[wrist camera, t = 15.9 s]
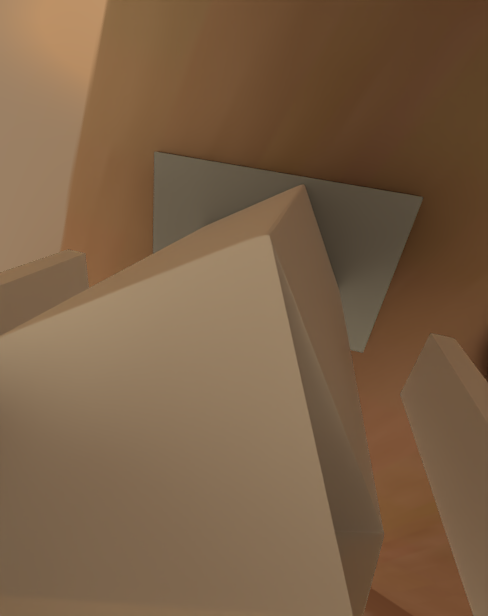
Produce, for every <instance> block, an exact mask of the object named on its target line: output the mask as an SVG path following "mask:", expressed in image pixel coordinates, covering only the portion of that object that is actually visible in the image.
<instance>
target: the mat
mask: <svg viewBox="0 0 488 616" xmlns="http://www.w3.org/2000/svg"><path fill="white" fill-rule="evenodd" d="M302 184H304V185H305V188H306V191H307V194H308V197H309V200H310V203H311V206H312V209H313V212H314V215H315V218H316V221H317V224H318V227H319V230H320V233H321V236H322V239H323V242H324V245H325V248H326V251H327V254H328V258H329V261H330V264H331V267H332V270H333V273H334V276H335V279H336V282H337V285H338V288H339V291H340V296H341V302H342V307H343V313H344V318H345V324H346V329H347V335H348V340H349V346H350V350H353V351H357V352H361V353H363V351H364V349H365V346H366V344H367V341H368V338H369V336H370V333H371V331H372V328H373V326H374V323H375V320H376V318H377V315H378V313H379V310H380V308H381V305H382V302H383V300H384V297H385V295H386V292H387V290H388V287H389V285H390V282H391V279H392V277H393V274H394V272H395V269H396V267H397V264H398V261H399V259H400V256H401V254H402V251H403V249H404V246H405V244H406V241H407V238H408V236H409V233H410V231H411V228H412V226H413V223H414V220H415V218H416V215H417V213H418V210H419V208H420V205H421V203H422V200H423V197H421V196H415V195H409V194H403V193H398V192H392V191H386V190H380V189H374V188H368V187H362V186H356V185H350V184H345V183H339V182H333V181H327V180H321V179H315V178H309V177H303V176H297V175H292V174H286V173H280V172H274V171H268V170H262V169H256V168H250V167H245V166H239V165H233V164H227V163H221V162H215V161H209V160H203V159H197V158H192V157H186V156H180V155H174V154H168V153H162V152H154V210H153V254H154V253H156V252H157V251H159V250H161V249H163V248H165V247H167V246H169V245H170V244H172V243H174V242H176V241H178V240H180V239H182V238H184V237H185V236H187V235H189V234H191V233H193V232H195V231H197V230H198V229H200V228H202V227H204V226H206V225H208V224H211V223H213V222H215V221H218V220H220V219H222V218H224V217H227V216H229V215H231V214H234V213H236V212H238V211H241V210H243V209H245V208H247V207H250V206H252V205H254V204H257V203H259V202H261V201H264V200H266V199H268V198H271V197H273V196H275V195H277V194H280V193H282V192H284V191H287V190H289V189H291V188H294V187H296V186H299V185H302Z"/></svg>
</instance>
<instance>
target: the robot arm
mask: <svg viewBox="0 0 488 616" xmlns="http://www.w3.org/2000/svg"><path fill="white" fill-rule="evenodd" d="M88 288H89V286H88V275H87V265H86V255H85V253H82V252H77V251H73V250H69V249H68V250H65V251H62V252H59V253H56V254H53V255H51V256H48V257H45V258H42V259H39V260H36V261H33V262H30V263H27V264H24V265H21V266H18V267H15V268H12V269H9V270H6V271H3V272H0V335H2V334H4V333H6V332H8V331H10V330H12V329H14V328H15V327H17V326H19V325H21V324H23V323H25V322H27V321H28V320H30V319H32V318H34V317H36V316H38V315H40V314H42V313H43V312H45V311H47V310H49V309H51V308H53V307H55V306H56V305H58V304H60V303H62V302H64V301H66V300H68V299H70V298H71V297H73V296H75V295H77V294H79V293H81V292H83V291H85V290H86V289H88ZM400 396H401V399H402V402H403V405H404V408H405V411H406V414H407V417H408V420H409V423H410V426H411V429H412V432H413V435H414V438H415V441H416V444H417V447H418V450H419V453H420V456H421V459H422V462H423V465H424V468H425V471H426V474H427V477H428V480H429V483H430V486H431V489H432V492H433V495H434V498H435V501H436V504H437V507H438V510H439V513H440V516H441V519H442V522H443V526H444V529H445V532H446V535H447V538H448V541H449V544H450V547H451V550H452V553H453V556H454V559H455V562H456V565H457V568H458V571H459V574H460V577H461V580H462V583H463V586H464V589H465V592H466V595H467V598H468V601H469V604H470V607H471V610H472V613H473V616H488V382H487V381H486V380H485V378H484V377H483V376H482V374H481V373H480V372H479V370H478V369H477V368H476V366H475V365H474V364H473V362H472V361H471V360H470V358H469V357H468V355H467V354H466V353H465V351H464V350H463V349H462V347H461V346H460V345H459V343H458V342H457V341H456V339H455V338H451V337H447V336H442V335H438V334H434V333H430V335H429V337H428V339H427V341H426V343H425V345H424V347H423V349H422V351H421V353H420V355H419V357H418V359H417V361H416V363H415V365H414V367H413V369H412V371H411V373H410V375H409V377H408V379H407V381H406V383H405V385H404V387H403V389H402V391H401V393H400Z"/></svg>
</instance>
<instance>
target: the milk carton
mask: <svg viewBox="0 0 488 616" xmlns="http://www.w3.org/2000/svg"><path fill="white" fill-rule="evenodd" d="M383 538H384V531H383V526H382V521H381V515H380V510H379V504H378V499H377V494H376V488H375V483H374V477H373V472H372V466H371V461H370V455H369V450H368V444H367V439H366V433H365V428H364V422H363V417H362V411H361V406H360V400H359V395H358V390H357V384H356V379H355V373H354V368H353V362H352V357H351V351H350V346H349V340H348V335H347V329H346V324H345V318H344V313H343V307H342V302H341V296H340V291H339V288H338V285H337V282H336V279H335V276H334V273H333V270H332V267H331V264H330V261H329V258H328V254H327V251H326V248H325V245H324V242H323V239H322V236H321V233H320V230H319V227H318V224H317V221H316V218H315V215H314V212H313V209H312V206H311V203H310V200H309V197H308V194H307V191H306V188H305V185H304V184H302V185H299V186H296V187H294V188H291V189H289V190H287V191H284V192H282V193H280V194H277V195H275V196H273V197H271V198H268V199H266V200H264V201H261V202H259V203H257V204H254V205H252V206H250V207H247V208H245V209H243V210H241V211H238V212H236V213H234V214H231V215H229V216H227V217H224V218H222V219H220V220H218V221H215V222H213V223H211V224H208V225H206V226H204V227H202V228H200V229H198V230H197V231H195V232H193V233H191V234H189V235H187V236H185V237H184V238H182V239H180V240H178V241H176V242H174V243H172V244H170V245H169V246H167V247H165V248H163V249H161V250H159V251H157V252H156V253H154V254H152V255H150V256H148V257H146V258H144V259H142V260H141V261H139V262H137V263H135V264H133V265H131V266H129V267H127V268H126V269H124V270H122V271H120V272H118V273H116V274H114V275H113V276H111V277H109V278H107V279H105V280H103V281H101V282H99V283H98V284H96V285H94V286H92V287H90V288H88V289H86V290H85V291H83V292H81V293H79V294H77V295H75V296H73V297H71V298H70V299H68V300H66V301H64V302H62V303H60V304H58V305H56V306H55V307H53V308H51V309H49V310H47V311H45V312H43V313H42V314H40V315H38V316H36V317H34V318H32V319H30V320H28V321H27V322H25V323H23V324H21V325H19V326H17V327H15V328H14V329H12V330H10V331H8V332H6V333H4V334H2V335H0V616H363V614H364V610H365V607H366V603H367V599H368V595H369V591H370V588H371V584H372V580H373V576H374V572H375V569H376V565H377V561H378V557H379V553H380V550H381V546H382V542H383Z"/></svg>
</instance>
